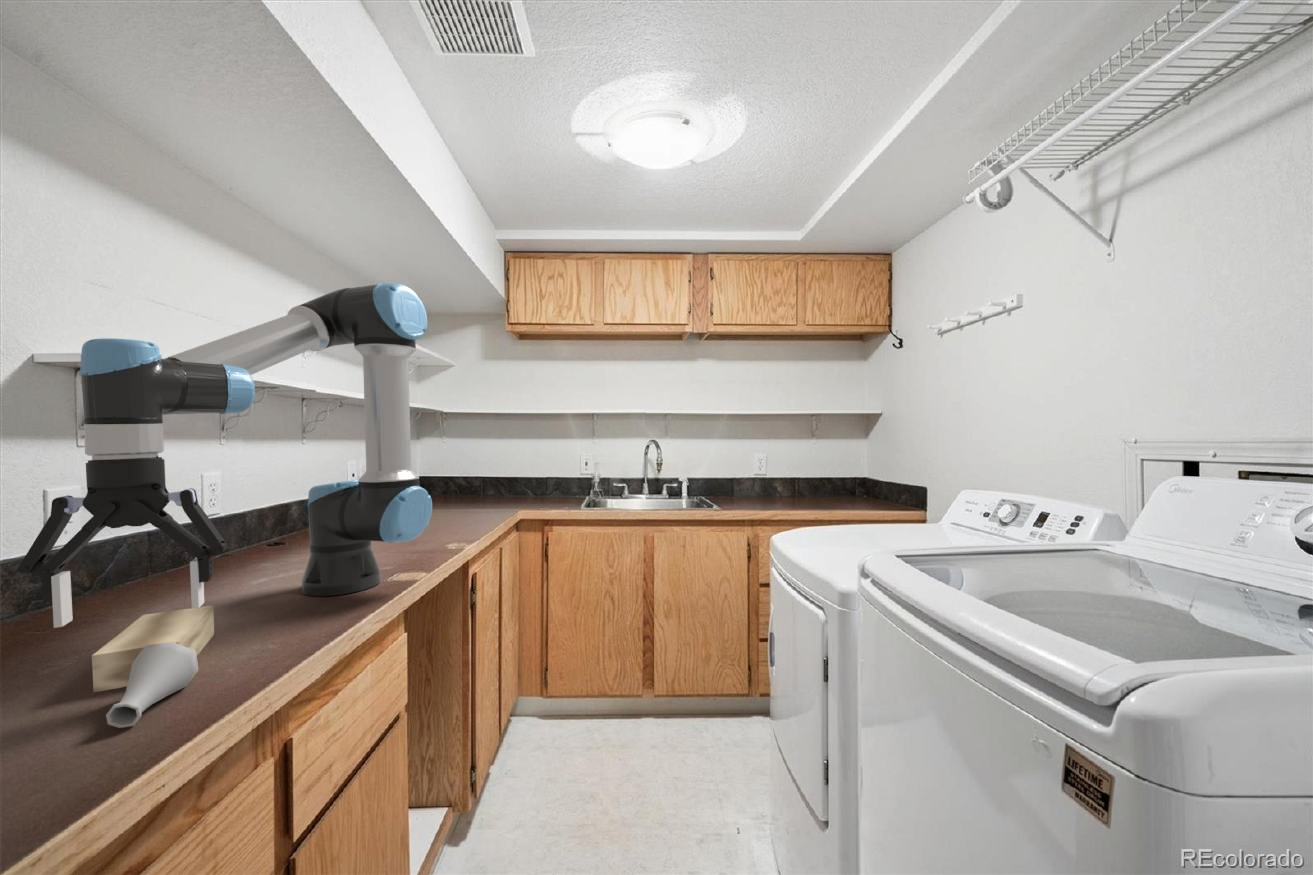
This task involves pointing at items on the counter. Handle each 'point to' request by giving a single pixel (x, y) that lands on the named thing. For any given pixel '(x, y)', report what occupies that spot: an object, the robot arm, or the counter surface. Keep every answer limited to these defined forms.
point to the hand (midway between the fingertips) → (133, 614)
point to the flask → (153, 680)
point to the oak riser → (150, 642)
